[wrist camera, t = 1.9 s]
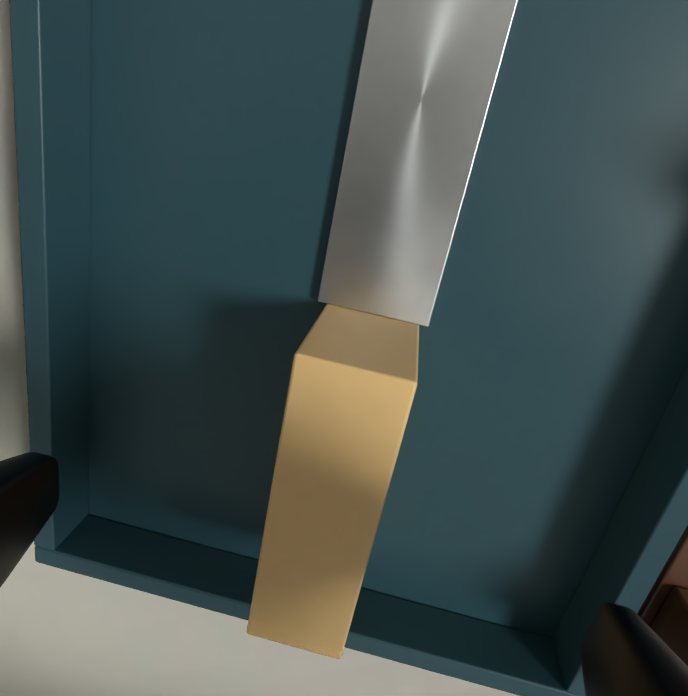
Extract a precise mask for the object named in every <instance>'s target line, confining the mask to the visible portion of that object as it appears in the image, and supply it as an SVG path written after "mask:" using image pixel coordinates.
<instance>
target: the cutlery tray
mask: <svg viewBox="0 0 688 696" xmlns="http://www.w3.org/2000/svg"><path fill="white" fill-rule="evenodd" d="M9 3H10V25H11V47H12V68H13V90H14V112H15V133H16V155H17V177H18V198H19V220H20V242H21V264H22V285H23V307H24V329H25V350H26V372H27V394H28V415H29V437H30V452H37V453H41V454H45V455H49V456H53V457H54V458H56V459H57V461H58V464H59V501H58V504H57V507H56V509H55V511H54V512H53V514H52V515H51V517H50V518H49V520H48V521H47V522H46V524H45V525H44V527H43V528H42V529H41V531H40V532H39V534H38V535H37V537H36V538H35V539H34V544H35V545H36V546H35V560H36V561H37V562H39V563H43V564H46V565H50V566H53V567H57V568H61V569H64V570H68V571H71V572H75V573H79V574H82V575H86V576H90V577H93V578H97V579H100V580H104V581H108V582H111V583H115V584H118V585H122V586H126V587H129V588H133V589H137V590H140V591H144V592H147V593H151V594H155V595H158V596H162V597H165V598H169V599H173V600H176V601H180V602H184V603H187V604H191V605H194V606H198V607H202V608H205V609H209V610H212V611H216V612H220V613H223V614H227V615H231V616H234V617H238V618H241V619H245V620H249V615H250V609H251V603H252V597H253V591H254V585H255V580H256V574H257V568H258V562H259V556H260V551H261V545H262V539H263V533H264V527H265V521H266V516H267V510H268V504H269V498H270V492H271V486H272V481H273V475H274V469H275V463H276V457H277V451H278V446H279V440H280V434H281V428H282V422H283V417H284V411H285V405H286V399H287V393H288V387H289V382H290V376H291V370H292V364H293V358H294V354H295V353H296V351H297V350H298V348H299V347H300V345H301V343H302V342H303V340H304V339H305V337H306V336H307V334H308V333H309V331H310V329H311V328H312V326H313V325H314V323H315V322H316V320H317V319H318V317H319V315H320V314H321V312H322V311H323V309H324V308H325V306H326V304H327V303H323V302H319V301H318V296H319V290H320V285H321V279H322V274H323V268H324V263H325V257H326V252H327V246H328V241H329V236H330V230H331V225H332V219H333V214H334V208H335V203H336V197H337V192H338V186H339V181H340V175H341V170H342V164H343V159H344V153H345V148H346V142H347V137H348V132H349V126H350V121H351V115H352V110H353V104H354V99H355V93H356V88H357V82H358V77H359V71H360V66H361V60H362V55H363V49H364V44H365V38H366V33H367V28H368V22H369V17H370V11H371V6H372V0H9ZM687 525H688V0H518V4H517V7H516V11H515V15H514V18H513V22H512V26H511V29H510V33H509V37H508V40H507V44H506V48H505V51H504V55H503V58H502V62H501V66H500V69H499V73H498V77H497V80H496V84H495V88H494V91H493V95H492V98H491V102H490V106H489V109H488V113H487V117H486V120H485V124H484V128H483V131H482V135H481V139H480V142H479V146H478V149H477V153H476V157H475V160H474V164H473V168H472V171H471V175H470V179H469V182H468V186H467V189H466V193H465V197H464V200H463V204H462V208H461V211H460V215H459V219H458V222H457V226H456V230H455V233H454V237H453V240H452V244H451V248H450V251H449V255H448V259H447V262H446V266H445V270H444V273H443V277H442V281H441V284H440V288H439V291H438V295H437V299H436V302H435V306H434V310H433V313H432V317H431V321H430V324H429V326H428V327H425V326H421V325H419V350H418V380H417V388H416V392H415V395H414V399H413V402H412V406H411V409H410V413H409V417H408V420H407V424H406V427H405V431H404V435H403V438H402V442H401V445H400V449H399V453H398V456H397V460H396V463H395V467H394V471H393V474H392V478H391V481H390V485H389V488H388V492H387V496H386V499H385V503H384V506H383V510H382V514H381V517H380V521H379V524H378V528H377V532H376V535H375V539H374V542H373V546H372V550H371V553H370V557H369V560H368V564H367V567H366V571H365V575H364V578H363V582H362V585H361V589H360V593H359V596H358V600H357V603H356V607H355V611H354V614H353V618H352V621H351V625H350V629H349V632H348V636H347V639H346V643H345V647H346V648H350V649H353V650H357V651H361V652H364V653H368V654H372V655H375V656H379V657H382V658H386V659H390V660H393V661H397V662H400V663H404V664H408V665H411V666H415V667H419V668H422V669H426V670H429V671H433V672H437V673H440V674H444V675H447V676H451V677H455V678H458V679H462V680H466V681H469V682H473V683H476V684H480V685H484V686H487V687H491V688H494V689H498V690H502V691H505V692H509V693H513V694H516V695H520V696H586V695H585V688H584V680H583V672H582V664H581V656H580V645H581V640H582V637H583V634H584V632H585V631H586V629H587V627H588V625H589V623H590V621H591V619H592V617H593V615H594V613H595V611H596V610H597V608H598V606H599V605H600V604H601V603H603V602H610V603H614V604H617V605H621V606H625V607H628V608H630V609H632V610H633V611H634V612H635V613H636V614H637V613H638V611H639V609H640V608H641V606H642V604H643V602H644V601H645V599H646V597H647V595H648V594H649V592H650V590H651V588H652V586H653V585H654V583H655V581H656V579H657V578H658V576H659V574H660V572H661V571H662V569H663V567H664V565H665V564H666V562H667V560H668V558H669V557H670V555H671V553H672V551H673V550H674V548H675V546H676V544H677V543H678V541H679V539H680V537H681V536H682V534H683V532H684V530H685V529H686V527H687Z"/></svg>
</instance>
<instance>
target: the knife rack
mask: <svg viewBox="0 0 688 696" xmlns="http://www.w3.org/2000/svg"><path fill="white" fill-rule="evenodd" d="M637 615H638V616H639V617H640V618H641V619H642V620H643V621H644V622H645V623H646V624H647V625H648V626H649V627H650V628H651V629H652V630H653V631H654V632H655V633H656V634H657V635H658V636H659V637H660V638H661V639H662V640H663V641H664V642H665V643H666V644H667V645H668V647H669V648H670V649H671V650H672V651H673V652H674V653H675V654H676V655H677V656H678V657H679V658H680V659H681V660H682V661H683V662H684V663H685V664H686V665H687V666H688V525H687V527H686V529H685V530H684V532H683V534H682V536H681V537H680V539H679V541H678V543H677V544H676V546H675V548H674V550H673V551H672V553H671V555H670V557H669V558H668V560H667V562H666V564H665V565H664V567H663V569H662V571H661V572H660V574H659V576H658V578H657V579H656V581H655V583H654V585H653V586H652V588H651V590H650V592H649V594H648V595H647V597H646V599H645V601H644V602H643V604H642V606H641V608H640V609H639V611H638V613H637Z"/></svg>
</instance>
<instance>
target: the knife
mask: <svg viewBox="0 0 688 696" xmlns="http://www.w3.org/2000/svg"><path fill="white" fill-rule="evenodd" d="M517 4H518V0H372V6H371V11H370V17H369V22H368V28H367V33H366V38H365V44H364V49H363V55H362V60H361V66H360V71H359V77H358V82H357V88H356V93H355V99H354V104H353V110H352V115H351V121H350V126H349V132H348V137H347V142H346V148H345V153H344V159H343V164H342V170H341V175H340V181H339V186H338V192H337V197H336V203H335V208H334V214H333V219H332V225H331V230H330V236H329V241H328V246H327V252H326V257H325V263H324V268H323V274H322V279H321V285H320V290H319V296H318V301H319V302H323V303H327V304H326V306H325V308H324V309H323V311H322V312H321V314H320V315H319V317H318V319H317V320H316V322H315V323H314V325H313V326H312V328H311V329H310V331H309V333H308V334H307V336H306V337H305V339H304V340H303V342H302V343H301V345H300V347H299V348H298V350H297V351H296V353H295V354H294V358H293V364H292V370H291V376H290V382H289V387H288V393H287V399H286V405H285V411H284V417H283V422H282V428H281V434H280V440H279V446H278V451H277V457H276V463H275V469H274V475H273V481H272V486H271V492H270V498H269V504H268V510H267V516H266V521H265V527H264V533H263V539H262V545H261V551H260V556H259V562H258V568H257V574H256V580H255V585H254V591H253V597H252V603H251V609H250V615H249V620H248V626H247V633H248V634H250V635H254V636H257V637H261V638H265V639H268V640H272V641H275V642H279V643H283V644H286V645H290V646H293V647H297V648H300V649H304V650H308V651H311V652H315V653H318V654H322V655H326V656H329V657H333V658H336V659H340V658H341V657H342V654H343V650H344V647H345V643H346V639H347V636H348V632H349V629H350V625H351V621H352V618H353V614H354V611H355V607H356V603H357V600H358V596H359V593H360V589H361V585H362V582H363V578H364V575H365V571H366V567H367V564H368V560H369V557H370V553H371V550H372V546H373V542H374V539H375V535H376V532H377V528H378V524H379V521H380V517H381V514H382V510H383V506H384V503H385V499H386V496H387V492H388V488H389V485H390V481H391V478H392V474H393V471H394V467H395V463H396V460H397V456H398V453H399V449H400V445H401V442H402V438H403V435H404V431H405V427H406V424H407V420H408V417H409V413H410V409H411V406H412V402H413V399H414V395H415V392H416V388H417V380H418V350H419V325H421V326H425V327H428V326H429V324H430V321H431V317H432V313H433V310H434V306H435V302H436V299H437V295H438V291H439V288H440V284H441V281H442V277H443V273H444V270H445V266H446V262H447V259H448V255H449V251H450V248H451V244H452V240H453V237H454V233H455V230H456V226H457V222H458V219H459V215H460V211H461V208H462V204H463V200H464V197H465V193H466V189H467V186H468V182H469V179H470V175H471V171H472V168H473V164H474V160H475V157H476V153H477V149H478V146H479V142H480V139H481V135H482V131H483V128H484V124H485V120H486V117H487V113H488V109H489V106H490V102H491V98H492V95H493V91H494V88H495V84H496V80H497V77H498V73H499V69H500V66H501V62H502V58H503V55H504V51H505V48H506V44H507V40H508V37H509V33H510V29H511V26H512V22H513V18H514V15H515V11H516V7H517Z"/></svg>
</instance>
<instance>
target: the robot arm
mask: <svg viewBox="0 0 688 696" xmlns="http://www.w3.org/2000/svg"><path fill="white" fill-rule="evenodd" d="M58 501H59V464H58V461H57V459H56V458H54V457H53V456H49V455H45V454H41V453H37V452H28V453H25V454H22V455H19V456H15V457H12V458H9V459H6V460H3V461H0V587H1V586H2V584H3V583H4V582H5V580H6V579H7V578H8V576H9V575H10V573H11V572H12V571H13V569H14V568H15V566H16V565H17V563H18V562H19V561H20V559H21V558H22V556H23V555H24V554H25V552H26V551H27V549H28V548H29V546H30V545H31V544H32V542H33V541H34V539H35V538H36V537H37V535H38V534H39V532H40V531H41V529H42V528H43V527H44V525H45V524H46V522H47V521H48V520H49V518H50V517H51V515H52V514H53V512H54V511H55V509H56V507H57V504H58ZM580 656H581V664H582V672H583V680H584V688H585V695H586V696H688V666H687V665H686V664H685V663H684V662H683V661H682V660H681V659H680V658H679V657H678V656H677V655H676V654H675V653H674V652H673V651H672V650H671V649H670V648H669V647H668V645H667V644H666V643H665V642H664V641H663V640H662V639H661V638H660V637H659V636H658V635H657V634H656V633H655V632H654V631H653V630H652V629H651V628H650V627H649V626H648V625H647V624H646V623H645V622H644V621H643V620H642V619H641V618H640V617H639V616H638V615H637V614H636V613H635V612H634V611H633V610H632V609H630V608H628V607H625V606H621V605H617V604H614V603H610V602H603V603H601V604H600V605H599V606H598V608H597V610H596V611H595V613H594V615H593V617H592V619H591V621H590V623H589V625H588V627H587V629H586V631H585V632H584V634H583V637H582V640H581V645H580Z"/></svg>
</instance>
